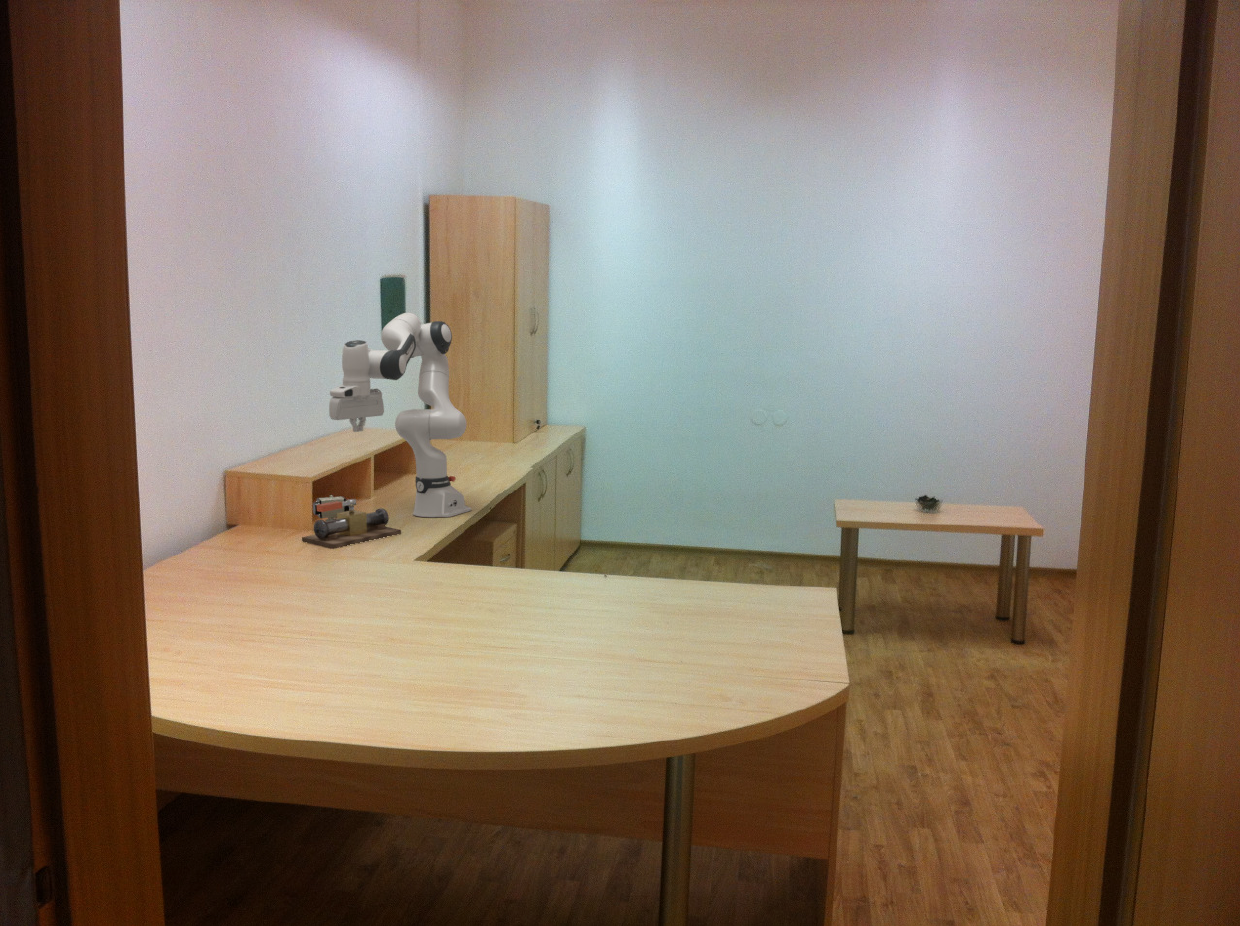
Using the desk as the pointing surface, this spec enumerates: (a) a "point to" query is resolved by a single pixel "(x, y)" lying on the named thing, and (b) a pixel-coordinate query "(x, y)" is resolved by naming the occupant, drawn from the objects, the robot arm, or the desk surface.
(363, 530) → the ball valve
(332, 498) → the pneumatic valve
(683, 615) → the desk surface
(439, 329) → the robot arm
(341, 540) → the dark brown base board
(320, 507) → the valve lever
